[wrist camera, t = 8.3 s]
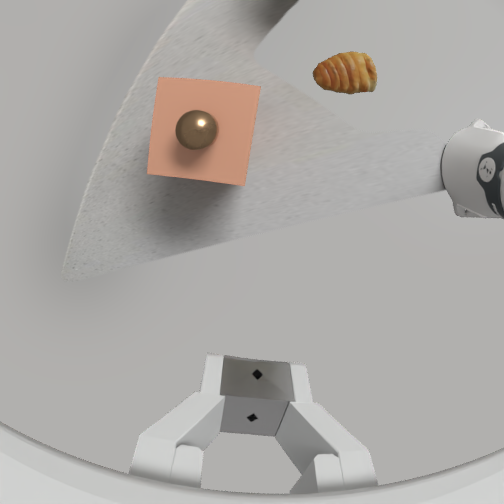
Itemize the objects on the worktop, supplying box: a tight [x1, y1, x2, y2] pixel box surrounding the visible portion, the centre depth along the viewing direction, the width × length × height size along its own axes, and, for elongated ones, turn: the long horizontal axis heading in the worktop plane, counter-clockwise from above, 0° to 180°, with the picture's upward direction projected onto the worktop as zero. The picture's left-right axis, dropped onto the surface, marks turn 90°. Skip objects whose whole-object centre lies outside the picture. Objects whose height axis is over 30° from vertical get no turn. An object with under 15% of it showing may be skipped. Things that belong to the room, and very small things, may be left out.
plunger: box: [175, 110, 219, 150], centre depth 31 cm, size 8×8×13 cm
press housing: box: [147, 77, 261, 186], centre depth 35 cm, size 10×10×16 cm
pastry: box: [313, 52, 377, 94], centre depth 37 cm, size 9×7×4 cm
